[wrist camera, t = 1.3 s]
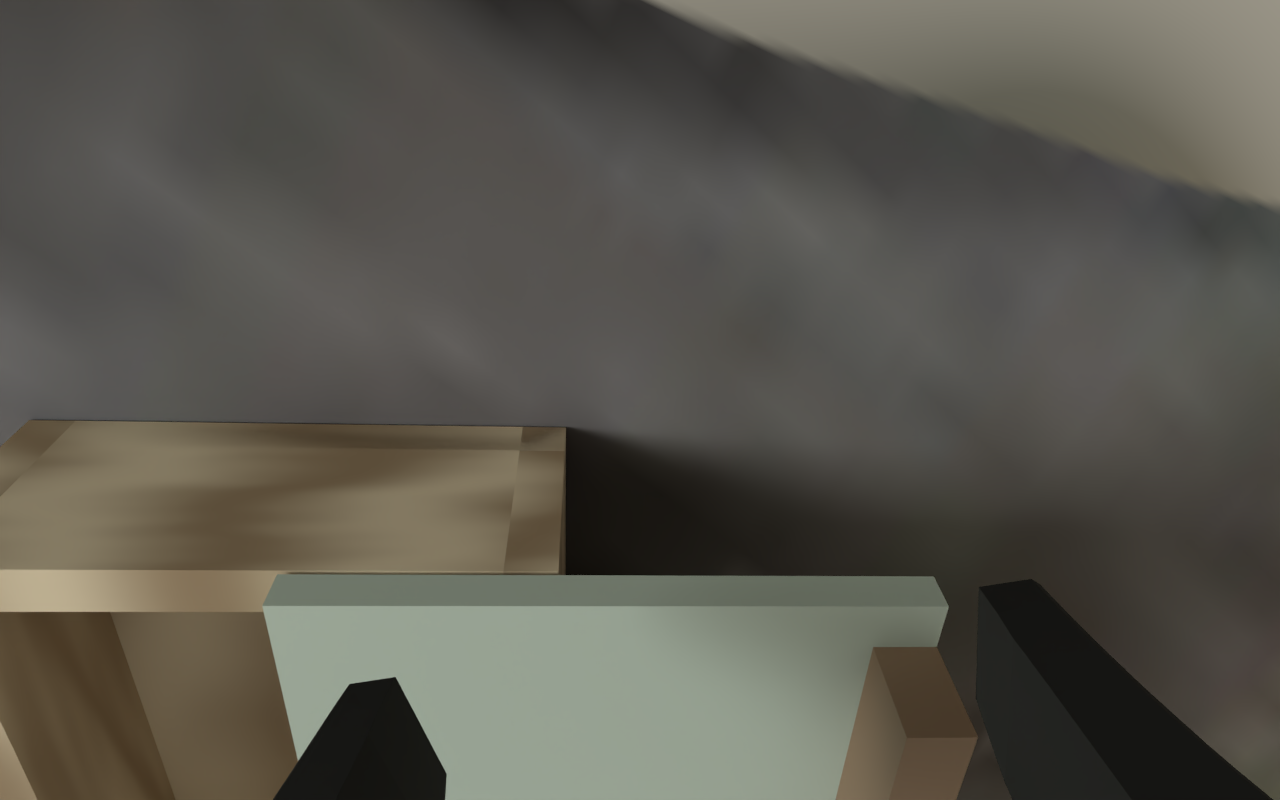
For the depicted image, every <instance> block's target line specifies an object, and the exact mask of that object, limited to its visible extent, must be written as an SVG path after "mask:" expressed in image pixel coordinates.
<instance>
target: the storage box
mask: <svg viewBox="0 0 1280 800" xmlns="http://www.w3.org/2000/svg"><path fill="white" fill-rule="evenodd" d="M277 574H336V575H566V427H496V426H423V425H350V424H278V423H205V422H132V421H60V420H29V421H28V422H27V423H26V424H25V425H24V426H22V427H21V428H20V429H19V430H18V431H17V432H16V433H15V434H14V435H13V436H12V437H11V438H9V439H8V440H7V441H6V442H5V443H4V444H3V445H2V446H1V447H0V800H273V798H274V797H275V795H276V794H277V792H278V791H279V789H280V788H281V786H282V785H283V783H284V782H285V780H286V779H287V777H288V776H289V774H290V773H291V771H292V770H293V768H294V767H295V765H296V763H297V762H298V759H297V754H296V750H295V746H294V741H293V737H292V733H291V728H290V724H289V720H288V715H287V711H286V707H285V702H284V698H283V694H282V689H281V685H280V681H279V676H278V672H277V668H276V663H275V659H274V655H273V650H272V646H271V642H270V637H269V633H268V629H267V624H266V620H265V616H264V611H263V607H262V605H263V603H264V601H265V599H266V597H267V595H268V593H269V590H270V588H271V586H272V584H273V582H274V580H275V578H276V576H277Z"/></svg>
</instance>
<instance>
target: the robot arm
mask: <svg viewBox="0 0 1280 800" xmlns="http://www.w3.org/2000/svg"><path fill="white" fill-rule="evenodd" d="M976 700H977V703H978V706H979V709H980V712H981V715H982V718H983V721H984V724H985V727H986V730H987V733H988V736H989V739H990V742H991V744H992V747H993V750H994V753H995V756H996V759H997V761H998V764H999V767H1000V770H1001V773H1002V776H1003V778H1004V781H1005V784H1006V786H1007V788H1008V790H1009V792H1010V795H1011V797H1012V799H1013V800H1273V799H1272V798H1270V797H1269V796H1268V795H1267V794H1266V793H1264V792H1263V791H1262V790H1261V789H1259V788H1258V787H1257V786H1256V785H1255V784H1253V783H1252V782H1251V781H1250V780H1249V779H1247V778H1246V777H1245V776H1244V775H1242V774H1241V773H1240V772H1239V771H1238V770H1236V769H1235V768H1234V767H1233V766H1232V765H1231V764H1229V763H1228V762H1227V761H1226V760H1225V759H1224V758H1222V757H1221V756H1220V755H1219V754H1218V753H1217V752H1215V751H1214V750H1213V749H1212V748H1211V747H1210V746H1208V745H1207V744H1206V743H1205V742H1204V741H1203V740H1202V739H1201V738H1199V737H1198V736H1197V735H1196V734H1195V733H1194V732H1193V731H1192V730H1191V729H1189V728H1188V727H1187V726H1186V725H1185V724H1184V723H1183V722H1182V721H1180V720H1179V719H1178V718H1177V717H1176V716H1175V715H1174V714H1173V713H1172V712H1170V711H1169V710H1168V709H1167V708H1166V707H1165V706H1164V705H1163V704H1162V703H1160V702H1159V701H1158V700H1157V699H1156V698H1155V697H1154V696H1153V695H1152V694H1150V693H1149V692H1148V691H1147V690H1146V689H1145V688H1144V687H1143V686H1142V685H1141V684H1140V683H1139V682H1138V681H1137V680H1135V679H1134V678H1133V677H1132V676H1131V675H1130V674H1129V673H1128V672H1127V671H1126V670H1125V669H1124V668H1123V667H1122V666H1121V665H1120V664H1119V663H1118V662H1117V661H1116V660H1115V659H1114V658H1112V657H1111V656H1110V655H1109V654H1108V653H1107V652H1106V651H1105V650H1104V649H1103V648H1102V647H1101V646H1100V645H1099V644H1098V643H1097V642H1096V641H1095V640H1094V639H1093V638H1092V637H1091V636H1090V635H1089V634H1088V633H1087V632H1086V631H1085V630H1084V629H1083V628H1082V627H1081V626H1080V625H1079V624H1078V623H1077V622H1076V621H1075V620H1074V619H1073V618H1072V617H1071V616H1070V615H1069V614H1068V613H1067V612H1066V611H1065V610H1064V609H1063V608H1062V607H1061V606H1060V605H1059V604H1058V603H1057V602H1056V601H1055V600H1054V599H1053V598H1052V597H1051V596H1050V595H1049V593H1048V592H1047V591H1046V590H1045V589H1044V588H1043V587H1042V586H1041V585H1040V584H1038V583H1037V582H1035V581H1034V580H1032V579H1029V580H1022V581H1016V582H1009V583H1003V584H996V585H990V586H983V587H979V600H978V638H977V675H976ZM446 777H447V773H446V772H445V770H444V768H443V766H442V764H441V762H440V760H439V758H438V756H437V755H436V753H435V751H434V749H433V747H432V745H431V743H430V741H429V739H428V737H427V736H426V734H425V732H424V730H423V728H422V726H421V724H420V722H419V720H418V718H417V717H416V715H415V713H414V711H413V709H412V707H411V705H410V703H409V701H408V699H407V698H406V696H405V694H404V692H403V690H402V688H401V686H400V684H399V682H398V680H397V679H396V677H392V678H385V679H379V680H372V681H366V682H359V683H353V684H349V685H348V687H347V688H346V690H345V691H344V692H343V694H342V695H341V697H340V698H339V700H338V701H337V703H336V704H335V706H334V707H333V709H332V710H331V712H330V713H329V715H328V716H327V718H326V719H325V721H324V722H323V724H322V725H321V727H320V728H319V730H318V731H317V733H316V734H315V736H314V738H313V739H312V741H311V742H310V744H309V745H308V747H307V748H306V750H305V751H304V753H303V754H302V756H301V757H300V759H299V760H298V762H297V763H296V765H295V767H294V768H293V770H292V771H291V773H290V774H289V776H288V777H287V779H286V780H285V782H284V783H283V785H282V786H281V788H280V789H279V791H278V792H277V794H276V795H275V797H274V798H273V800H445V794H446Z"/></svg>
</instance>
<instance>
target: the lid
mask: <svg viewBox="0 0 1280 800" xmlns="http://www.w3.org/2000/svg"><path fill="white" fill-rule="evenodd" d="M262 607H263V611H264V616H265V620H266V624H267V629H268V633H269V637H270V642H271V646H272V650H273V655H274V659H275V663H276V668H277V672H278V676H279V681H280V685H281V689H282V694H283V698H284V702H285V707H286V711H287V715H288V720H289V724H290V728H291V733H292V737H293V741H294V746H295V750H296V754H297V759H298V760H299V759H300V757H301V756H302V754H303V753H304V751H305V750H306V748H307V747H308V745H309V744H310V742H311V741H312V739H313V738H314V736H315V734H316V733H317V731H318V730H319V728H320V727H321V725H322V724H323V722H324V721H325V719H326V718H327V716H328V715H329V713H330V712H331V710H332V709H333V707H334V706H335V704H336V703H337V701H338V700H339V698H340V697H341V695H342V694H343V692H344V691H345V690H346V688H347V687H348V685H349V684H353V683H359V682H366V681H372V680H379V679H385V678H392V677H396V679H397V680H398V682H399V684H400V686H401V688H402V690H403V692H404V694H405V696H406V698H407V699H408V701H409V703H410V705H411V707H412V709H413V711H414V713H415V715H416V717H417V718H418V720H419V722H420V724H421V726H422V728H423V730H424V732H425V734H426V736H427V737H428V739H429V741H430V743H431V745H432V747H433V749H434V751H435V753H436V755H437V756H438V758H439V760H440V762H441V764H442V766H443V768H444V770H445V772H446V773H447V777H446V794H445V800H956V799H957V796H958V793H959V790H960V787H961V785H962V782H963V779H964V776H965V773H966V770H967V768H968V765H969V762H970V759H971V756H972V754H973V751H974V748H975V745H976V742H977V740H978V736H977V734H976V731H975V729H974V727H973V725H972V723H971V721H970V718H969V716H968V714H967V712H966V710H965V707H964V705H963V703H962V701H961V699H960V697H959V694H958V692H957V690H956V688H955V686H954V683H953V681H952V679H951V677H950V675H949V673H948V670H947V668H946V666H945V664H944V662H943V659H942V657H941V655H940V653H939V651H938V649H937V645H938V641H939V638H940V635H941V631H942V628H943V624H944V621H945V618H946V614H947V611H948V608H949V606H948V604H947V602H946V600H945V598H944V596H943V594H942V592H941V590H940V588H939V586H938V584H937V582H936V580H935V578H934V576H650V575H336V574H277V576H276V578H275V580H274V582H273V584H272V586H271V588H270V590H269V593H268V595H267V597H266V599H265V601H264V603H263V605H262Z"/></svg>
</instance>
